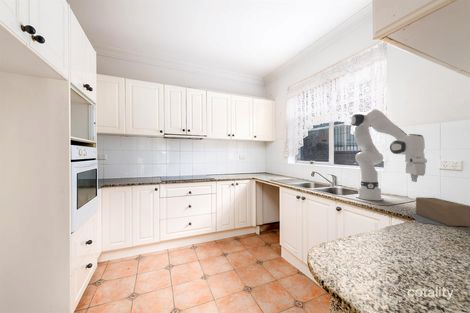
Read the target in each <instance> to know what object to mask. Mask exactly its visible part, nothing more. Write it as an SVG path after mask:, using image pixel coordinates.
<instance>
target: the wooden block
mask: <svg viewBox="0 0 470 313" xmlns="http://www.w3.org/2000/svg"><path fill="white" fill-rule="evenodd" d="M415 214H418V215H420V216H423V217H426V218H429V219H432V220H434V221H437V222H440V223H443V224H446V225H451V226H450V227H453V226H458V227H470V205H468V204H464V203H458V202H455V201H450V200H446V199H442V198H441V199H440V198H437V197H422V196H421V197H419V196H418V197H415Z"/></svg>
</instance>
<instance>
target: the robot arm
mask: <svg viewBox="0 0 470 313" xmlns="http://www.w3.org/2000/svg"><path fill="white" fill-rule="evenodd" d="M349 122H350V124H351V125H352V126H354V127H353V135H354V139H355V142H356V146H357V148H359V149H360V150H361V151H360V152H358V153H356V155H355V159H354V160H355V162H356V163H357V164H358V165H359V169H360V174H361V179H360V180H361V181H360V186H359V188H357V193H358V194H356V197H355V198H356V199H361V200H365V201H366V200H367V201H384V200H385V199H384V198H383V197H382V191H381V190H382V189H381V188H380V187H379V180H378V179H379V176H378V174H379V173H378V171H377V170H376V168H375V167H376V166H375V165H378V164H382V162H383V161H384V155H383V154H382V153H380V152H379V150H378V149H377V147H376V145H375V144H374V141H373V139H372V136H371V134H370V130H369V128H372V129H373V130H374V131H376V132H377V133H380V134H381V133H382V134H386V135H389V136H392V137H394V138H395V139H396V140H393V141H392V142H391V143H390V145H389V149H390V150H389V151H390V152H391V153H392V154H396V155H404V157H405V161H404V162H405V173H406V174H409V175H410V178H411V182H415V183H416V182H418V177H419V176H422V177H423V176H425V174H426V168H427V166H426V164H427V163H428V159H427V158H426V157H425V152H424V151H425V148H426V146H425V145H426V144H425V138H424V135H422V134H415V133H409V134H407V133H406V131H404V130H402V129H401V128H400V127H399V126H397V125H396V124H395V123H394V122H392V121H391V120H390V119H389V118H388V117H387V116H386V114H384V113H383V112H382V111H380V110H379V109H377V108H374V109H370V110H369V111H364V112H356V113H353V114H352V115H351V116H350V118H349Z"/></svg>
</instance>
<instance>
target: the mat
mask: <svg viewBox="0 0 470 313" xmlns="http://www.w3.org/2000/svg"><path fill="white" fill-rule="evenodd" d="M407 215H408V216H410V217H411V218H413V219H414V220H416V222H418V223H421V224H427V225H436V226H445V227H452V226H451V225H446V224H443V223H440V222H437V221H434V220H432V219H429V218H426V217H423V216H420V215H418V214H416V213H407Z"/></svg>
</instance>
